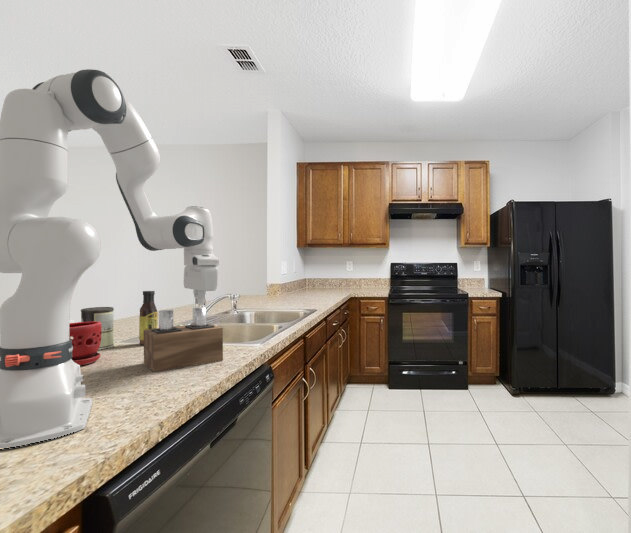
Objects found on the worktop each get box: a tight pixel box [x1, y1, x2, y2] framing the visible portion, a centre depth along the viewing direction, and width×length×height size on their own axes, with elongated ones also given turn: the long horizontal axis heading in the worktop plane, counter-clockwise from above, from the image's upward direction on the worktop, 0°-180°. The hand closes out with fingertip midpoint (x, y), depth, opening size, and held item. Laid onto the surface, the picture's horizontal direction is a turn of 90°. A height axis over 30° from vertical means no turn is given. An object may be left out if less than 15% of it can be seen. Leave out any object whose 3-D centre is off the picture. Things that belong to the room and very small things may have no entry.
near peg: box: [158, 309, 175, 331], centre depth 112 cm, size 4×4×10 cm
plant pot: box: [69, 321, 102, 366], centre depth 115 cm, size 13×13×12 cm
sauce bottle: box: [138, 290, 159, 346], centre depth 142 cm, size 7×6×20 cm
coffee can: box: [80, 306, 115, 351], centre depth 136 cm, size 10×10×14 cm
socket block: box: [143, 322, 224, 373], centre depth 115 cm, size 12×20×10 cm, turn 127°
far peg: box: [192, 306, 207, 328], centre depth 118 cm, size 4×4×10 cm
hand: (199, 304), depth 118 cm, fingers closed
